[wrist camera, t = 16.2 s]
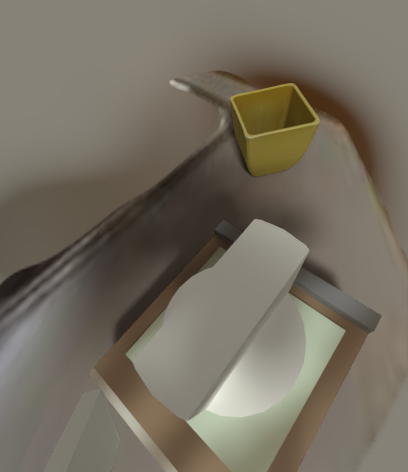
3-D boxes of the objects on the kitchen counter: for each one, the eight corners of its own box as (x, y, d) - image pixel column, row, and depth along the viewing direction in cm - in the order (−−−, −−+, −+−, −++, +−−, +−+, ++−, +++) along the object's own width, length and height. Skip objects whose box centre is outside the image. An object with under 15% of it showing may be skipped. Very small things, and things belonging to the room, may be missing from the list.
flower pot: (304, 178, 36) (322, 121, 29) (244, 191, 36) (246, 137, 29) (283, 139, 41) (294, 81, 33) (230, 150, 41) (228, 95, 33)
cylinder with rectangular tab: (245, 442, 18) (254, 511, 8) (157, 352, 21) (84, 317, 11) (310, 336, 21) (380, 283, 11) (223, 273, 24) (212, 189, 14)
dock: (112, 376, 26) (81, 372, 21) (225, 246, 32) (223, 219, 27) (242, 532, 19) (244, 583, 14) (352, 330, 25) (381, 315, 20)
